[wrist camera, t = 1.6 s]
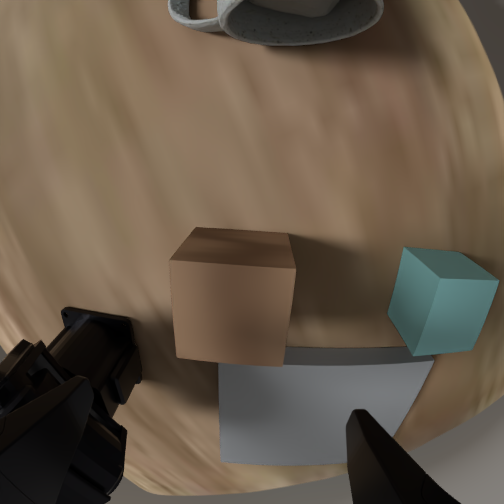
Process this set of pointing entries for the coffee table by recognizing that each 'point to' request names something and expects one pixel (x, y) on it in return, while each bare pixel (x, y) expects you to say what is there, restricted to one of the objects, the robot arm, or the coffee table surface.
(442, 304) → the teal block
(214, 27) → the ceramic mug
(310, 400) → the base plate
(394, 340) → the coffee table surface
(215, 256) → the walnut block
